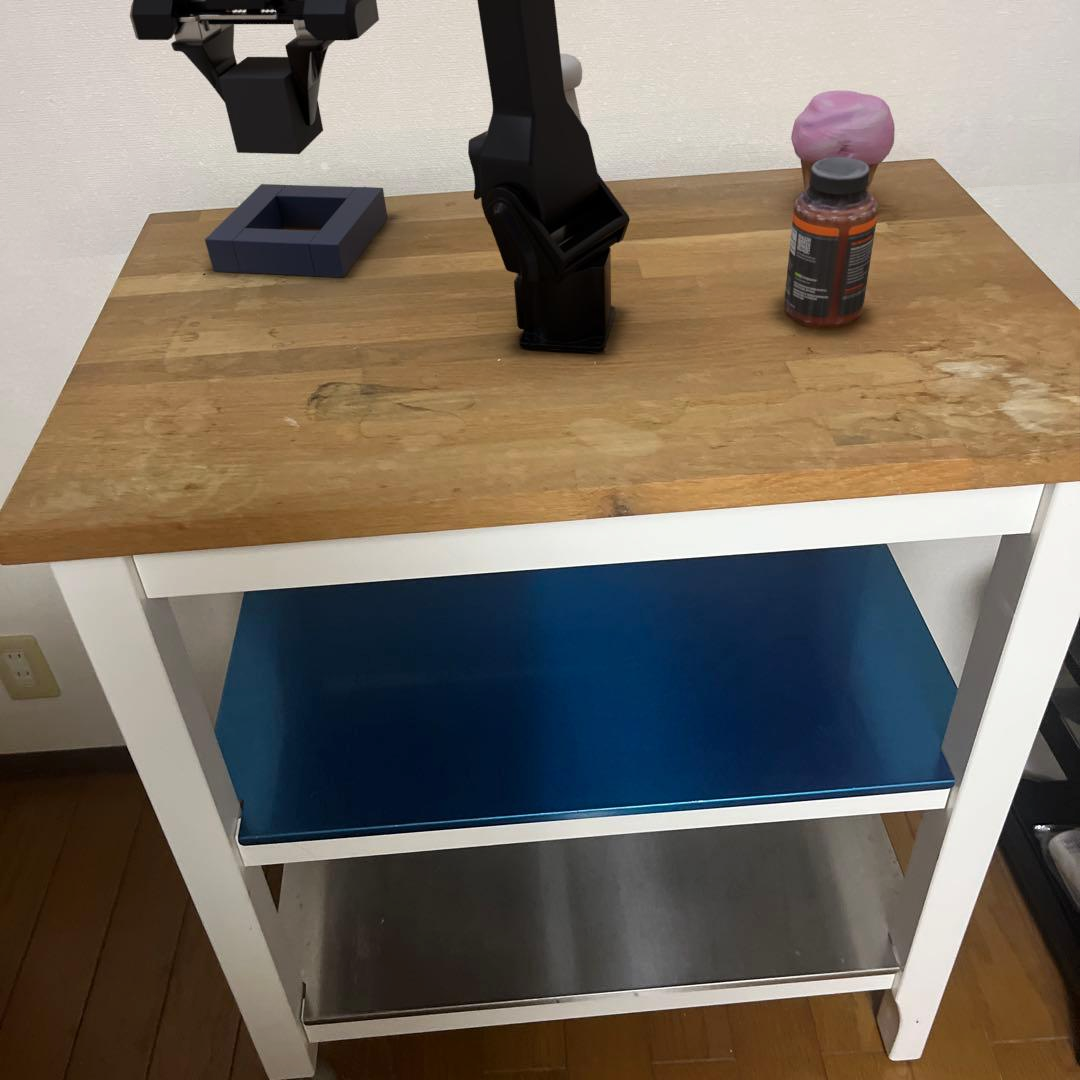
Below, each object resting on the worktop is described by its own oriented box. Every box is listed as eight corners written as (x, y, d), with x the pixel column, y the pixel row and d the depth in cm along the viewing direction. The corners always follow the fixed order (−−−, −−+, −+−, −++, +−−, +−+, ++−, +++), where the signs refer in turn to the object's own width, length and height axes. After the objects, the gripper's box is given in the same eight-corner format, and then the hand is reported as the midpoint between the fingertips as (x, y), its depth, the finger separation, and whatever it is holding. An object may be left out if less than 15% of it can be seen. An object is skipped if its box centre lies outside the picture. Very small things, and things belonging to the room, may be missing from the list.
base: (387, 218, 97) (383, 187, 95) (343, 277, 88) (337, 244, 86) (268, 214, 100) (261, 183, 98) (213, 271, 91) (204, 239, 89)
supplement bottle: (869, 300, 80) (893, 156, 73) (852, 336, 76) (877, 187, 69) (793, 289, 82) (809, 147, 75) (773, 323, 78) (788, 177, 71)
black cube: (323, 130, 89) (309, 56, 85) (299, 154, 85) (283, 78, 81) (263, 129, 90) (247, 56, 86) (236, 153, 86) (218, 77, 82)
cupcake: (780, 188, 98) (791, 77, 91) (874, 186, 97) (892, 74, 90) (789, 227, 91) (802, 111, 84) (890, 226, 90) (910, 109, 84)
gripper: (385, -114, 81) (411, 93, 91) (168, -109, 84) (217, 90, 94) (335, -86, 72) (371, 138, 83) (97, -81, 76) (159, 134, 86)
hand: (277, 123), depth 86 cm, fingers closed on black cube, 5 cm apart
